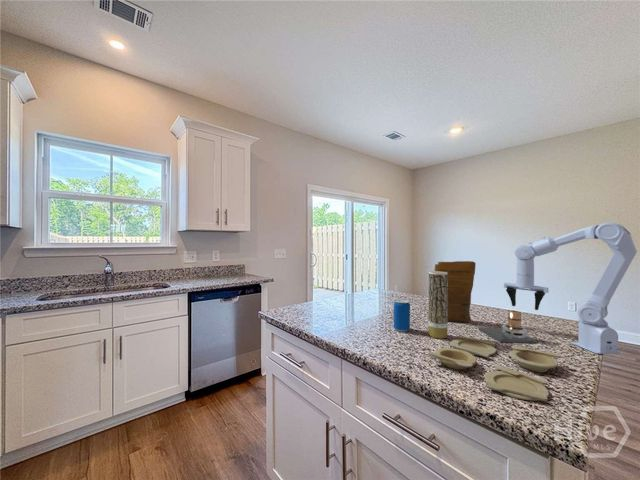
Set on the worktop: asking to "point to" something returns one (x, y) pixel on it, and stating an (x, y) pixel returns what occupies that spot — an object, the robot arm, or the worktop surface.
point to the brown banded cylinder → (514, 321)
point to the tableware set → (506, 378)
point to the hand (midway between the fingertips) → (524, 307)
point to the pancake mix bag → (458, 288)
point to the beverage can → (401, 315)
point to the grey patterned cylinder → (438, 304)
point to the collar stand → (507, 334)
